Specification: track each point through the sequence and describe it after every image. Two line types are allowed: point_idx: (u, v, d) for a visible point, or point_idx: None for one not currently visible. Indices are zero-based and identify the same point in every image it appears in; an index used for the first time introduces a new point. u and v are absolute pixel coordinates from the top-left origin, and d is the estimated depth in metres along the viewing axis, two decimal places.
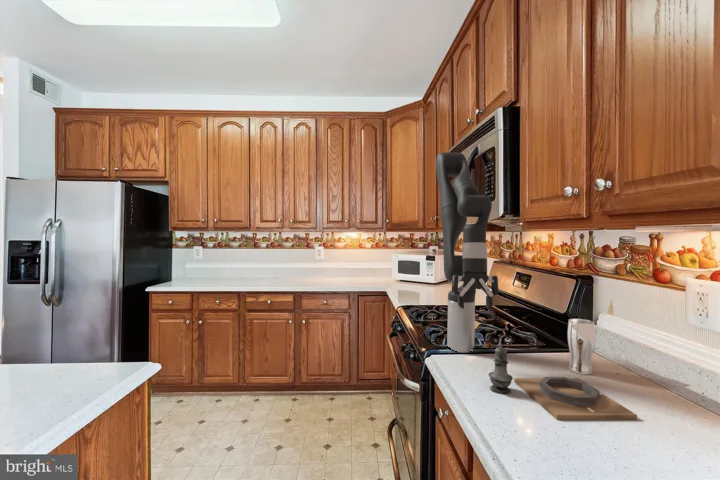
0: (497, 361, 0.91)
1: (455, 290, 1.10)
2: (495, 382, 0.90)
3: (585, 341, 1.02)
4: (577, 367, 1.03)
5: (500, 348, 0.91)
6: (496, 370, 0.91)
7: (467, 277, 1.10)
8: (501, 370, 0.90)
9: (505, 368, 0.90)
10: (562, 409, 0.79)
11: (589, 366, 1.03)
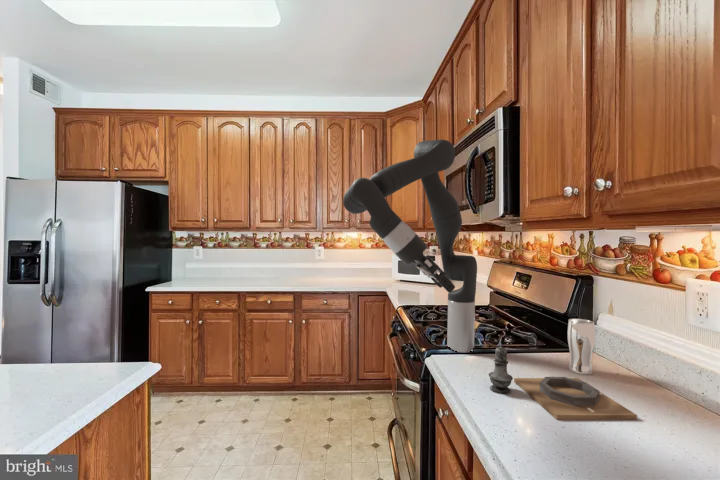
0: (497, 361, 0.91)
1: None
2: (495, 382, 0.90)
3: (585, 341, 1.02)
4: (577, 367, 1.03)
5: (500, 348, 0.91)
6: (496, 370, 0.91)
7: (416, 262, 0.93)
8: (501, 370, 0.90)
9: (505, 368, 0.90)
10: (562, 409, 0.79)
11: (589, 366, 1.03)
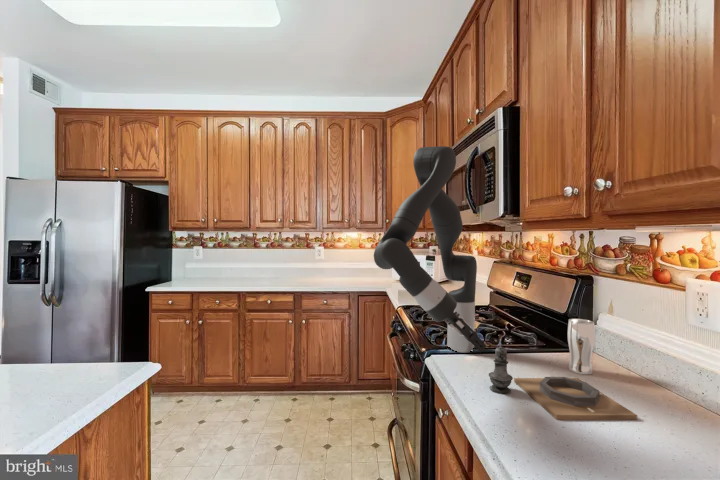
0: (497, 361, 0.91)
1: None
2: (495, 382, 0.90)
3: (585, 341, 1.02)
4: (577, 367, 1.03)
5: (500, 348, 0.91)
6: (496, 370, 0.91)
7: None
8: (501, 370, 0.90)
9: (505, 368, 0.90)
10: (562, 409, 0.79)
11: (589, 366, 1.03)
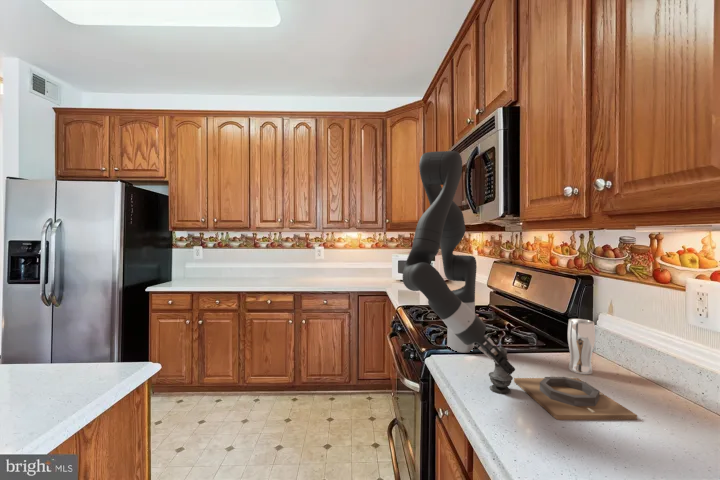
0: None
1: None
2: (495, 382, 0.90)
3: (585, 341, 1.02)
4: (577, 367, 1.03)
5: (500, 348, 0.91)
6: (496, 370, 0.91)
7: None
8: (501, 370, 0.90)
9: None
10: (562, 409, 0.79)
11: (589, 366, 1.03)
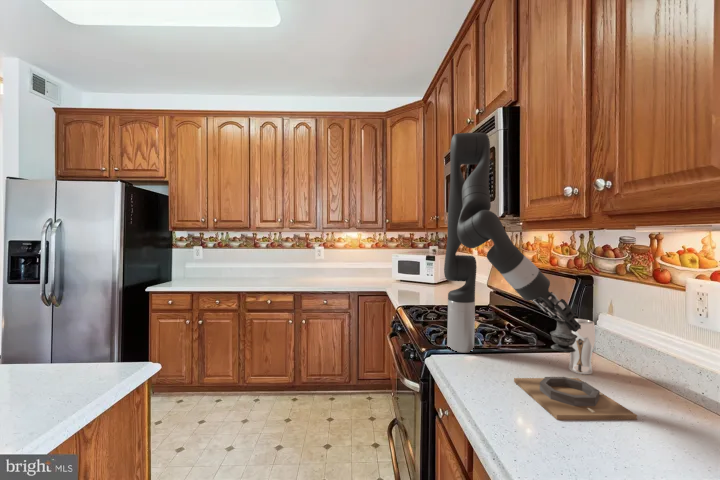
0: None
1: None
2: (559, 340, 0.85)
3: (585, 341, 1.02)
4: (577, 367, 1.03)
5: None
6: (559, 328, 0.86)
7: None
8: (565, 327, 0.85)
9: None
10: (562, 409, 0.79)
11: (589, 366, 1.03)
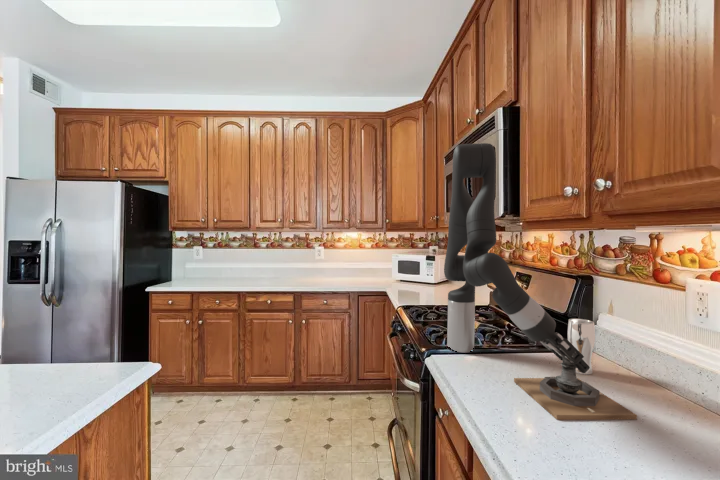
0: (566, 365, 0.86)
1: (541, 342, 0.93)
2: (565, 387, 0.85)
3: (585, 341, 1.02)
4: None
5: None
6: (565, 374, 0.86)
7: None
8: (570, 374, 0.85)
9: (574, 372, 0.86)
10: (562, 409, 0.79)
11: (589, 366, 1.03)
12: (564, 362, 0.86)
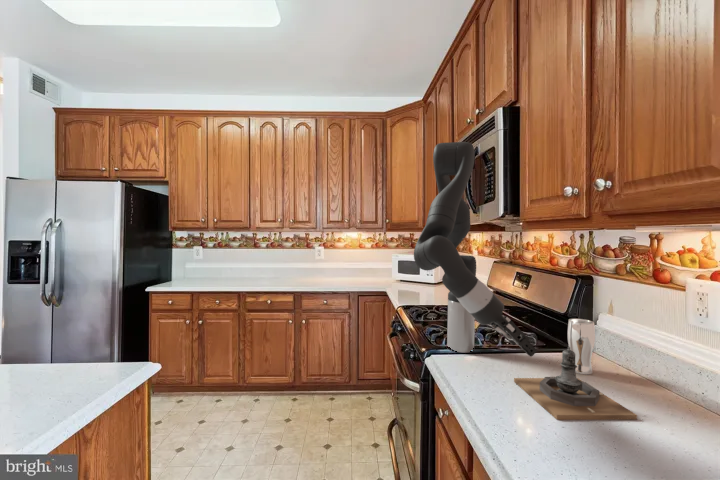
0: (565, 364, 0.86)
1: None
2: (565, 387, 0.85)
3: (585, 341, 1.02)
4: (577, 367, 1.03)
5: (568, 351, 0.86)
6: (564, 374, 0.86)
7: None
8: (570, 374, 0.85)
9: (574, 372, 0.86)
10: (562, 409, 0.79)
11: (589, 366, 1.03)
12: (564, 362, 0.86)
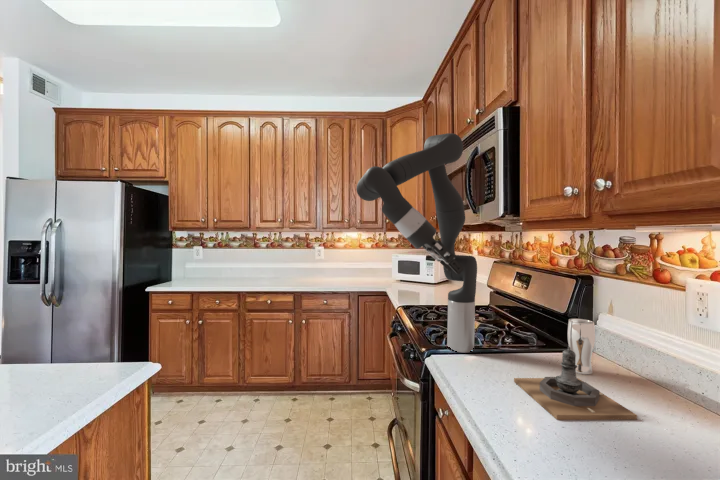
0: (566, 364, 0.86)
1: None
2: (565, 387, 0.85)
3: (585, 341, 1.02)
4: (577, 367, 1.03)
5: (568, 351, 0.86)
6: (565, 374, 0.86)
7: (426, 247, 0.98)
8: (570, 374, 0.85)
9: (574, 372, 0.86)
10: (562, 409, 0.79)
11: (589, 366, 1.03)
12: (564, 362, 0.86)
